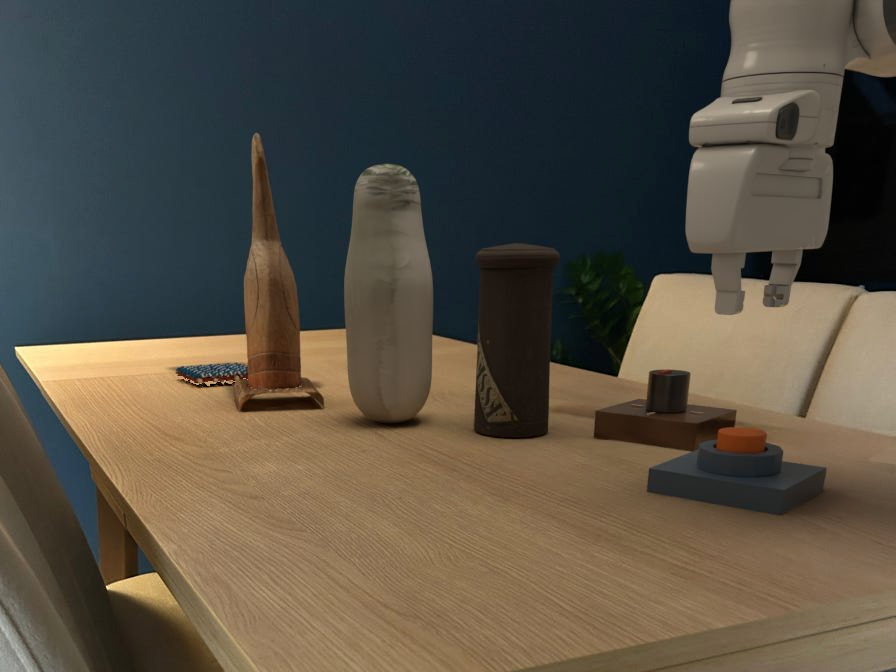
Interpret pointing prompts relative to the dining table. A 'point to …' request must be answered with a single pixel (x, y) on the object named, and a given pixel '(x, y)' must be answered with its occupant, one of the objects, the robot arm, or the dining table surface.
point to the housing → (738, 479)
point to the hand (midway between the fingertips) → (752, 310)
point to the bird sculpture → (270, 302)
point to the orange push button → (741, 440)
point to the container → (514, 340)
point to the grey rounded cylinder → (388, 297)
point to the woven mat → (214, 372)
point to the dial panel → (662, 425)
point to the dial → (668, 391)
